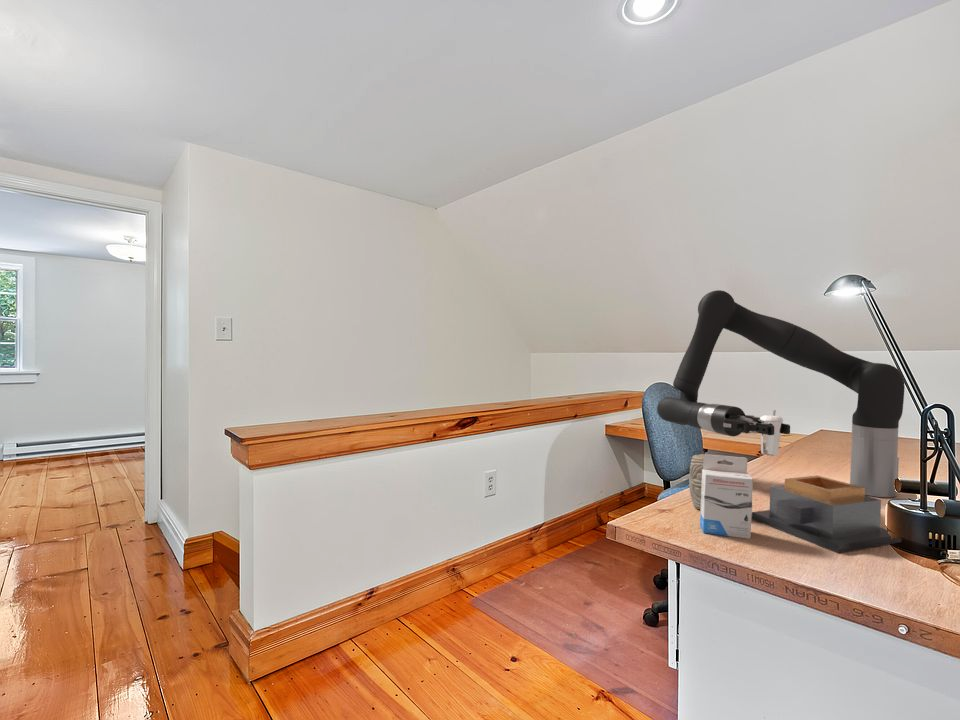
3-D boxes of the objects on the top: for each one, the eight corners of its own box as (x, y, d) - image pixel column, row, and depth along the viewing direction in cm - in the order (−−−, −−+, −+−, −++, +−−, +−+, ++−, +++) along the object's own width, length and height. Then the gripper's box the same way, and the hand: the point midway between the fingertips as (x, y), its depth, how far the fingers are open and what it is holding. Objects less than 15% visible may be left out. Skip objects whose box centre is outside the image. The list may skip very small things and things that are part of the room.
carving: (695, 502, 114) (696, 451, 114) (729, 510, 109) (730, 457, 109) (683, 508, 110) (684, 455, 110) (717, 516, 105) (719, 461, 104)
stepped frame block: (809, 511, 109) (810, 469, 109) (901, 542, 92) (903, 492, 92) (748, 519, 103) (749, 475, 103) (834, 553, 86) (836, 500, 86)
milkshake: (783, 454, 113) (786, 411, 113) (778, 457, 109) (780, 413, 109) (761, 450, 116) (763, 409, 116) (755, 453, 112) (758, 410, 112)
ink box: (702, 533, 95) (705, 458, 94) (699, 525, 100) (701, 453, 99) (751, 539, 92) (754, 462, 92) (746, 530, 97) (748, 457, 97)
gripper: (699, 405, 123) (757, 414, 107) (742, 403, 128) (804, 412, 112) (698, 435, 124) (757, 448, 108) (741, 432, 128) (803, 444, 112)
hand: (780, 430), depth 110 cm, fingers closed on milkshake, 4 cm apart
